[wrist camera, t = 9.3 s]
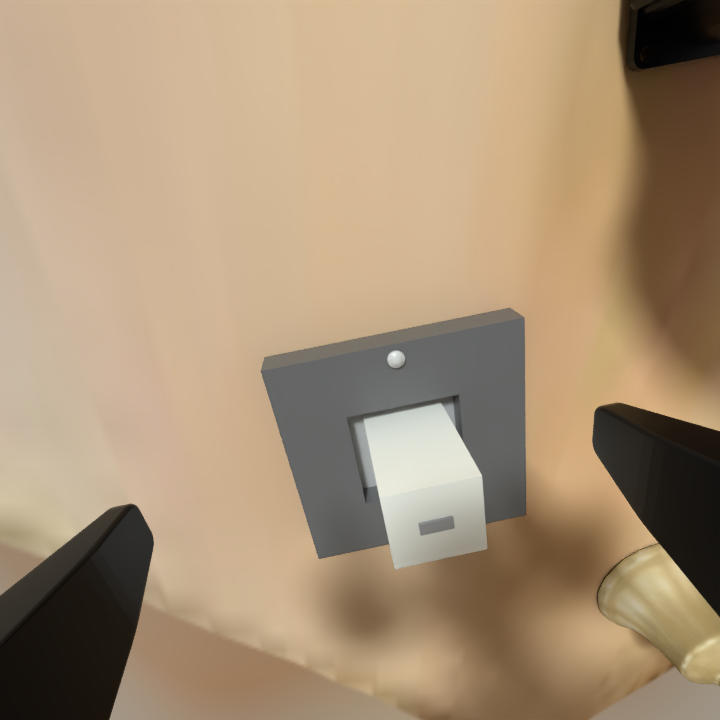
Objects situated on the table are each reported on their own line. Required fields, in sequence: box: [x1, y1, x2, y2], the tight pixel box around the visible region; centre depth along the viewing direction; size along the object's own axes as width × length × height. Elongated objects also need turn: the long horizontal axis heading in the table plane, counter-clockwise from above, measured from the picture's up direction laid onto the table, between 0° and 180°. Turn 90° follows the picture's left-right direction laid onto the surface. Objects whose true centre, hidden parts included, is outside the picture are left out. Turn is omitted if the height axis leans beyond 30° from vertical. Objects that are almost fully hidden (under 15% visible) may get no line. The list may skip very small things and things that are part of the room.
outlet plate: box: [261, 308, 526, 559], centre depth 21 cm, size 12×12×2 cm
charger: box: [363, 399, 487, 569], centre depth 19 cm, size 4×4×6 cm
